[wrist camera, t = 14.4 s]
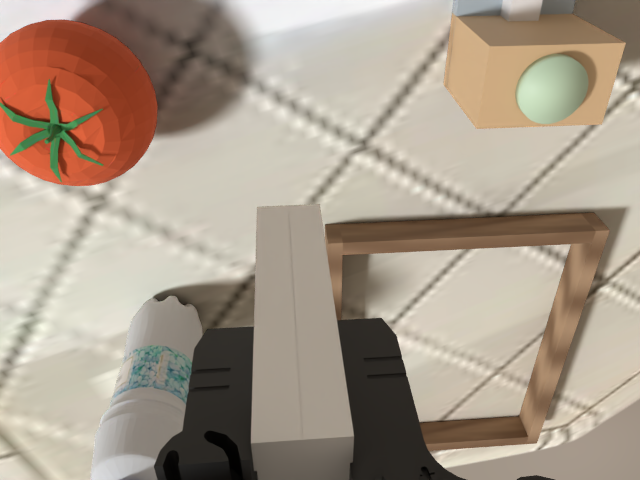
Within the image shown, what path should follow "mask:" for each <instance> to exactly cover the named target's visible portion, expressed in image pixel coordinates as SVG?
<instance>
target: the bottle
mask: <svg viewBox="0 0 640 480" xmlns="http://www.w3.org/2000/svg"><path fill="white" fill-rule="evenodd" d="M201 338H202V325H201V323H200V320H199V317H198V313H197V310H196V308H195V307H194V306H193V305H192V304H187V305H185V306H184V305H182V304H180V302H179V301H178V299H177V297H175V296H168V297H167V298H166V299H165V300H164V301H160V302H158V300H157V299H155V298H152V299H149V300H148V301H146V302H145V303H144V304H143V306H142V307H141V308H140V310H139V311H138V312H137V313H136V315H135V316H134V317H133V319H132V321H131V324H130V327H129V331H128V335H127V340H126V346H125V352H124V358H123V361H122V364H121V368H120V371H119V375H118V378H117V382H116V386H115V389H114V393H113V396H112V400H111V403H110V407H109V409H108V410H107V411H106V412H105V413H104V414H103V416H102V418H101V421H100V427H99V428H98V430H97V432H96V434H95V446H94V453H93V461H92V468H91V480H157V476H156V473H155V469H154V464H155V462H156V459H157V457H158V454H159V452H160V450H161V449H162V448H163V447H164V445H165V444H166V443H167V442H168V441H169V440H170V439H171V438H172V437H173V436H175V435H176V434H178V433H180V432H182V429H183V422H184V415H185V409H186V402H187V395H188V392H189V381H190V374H191V367H192V360H193V353H194V348H195V347H196V345H197V344H198V342H199V341H200V339H201Z"/></svg>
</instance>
